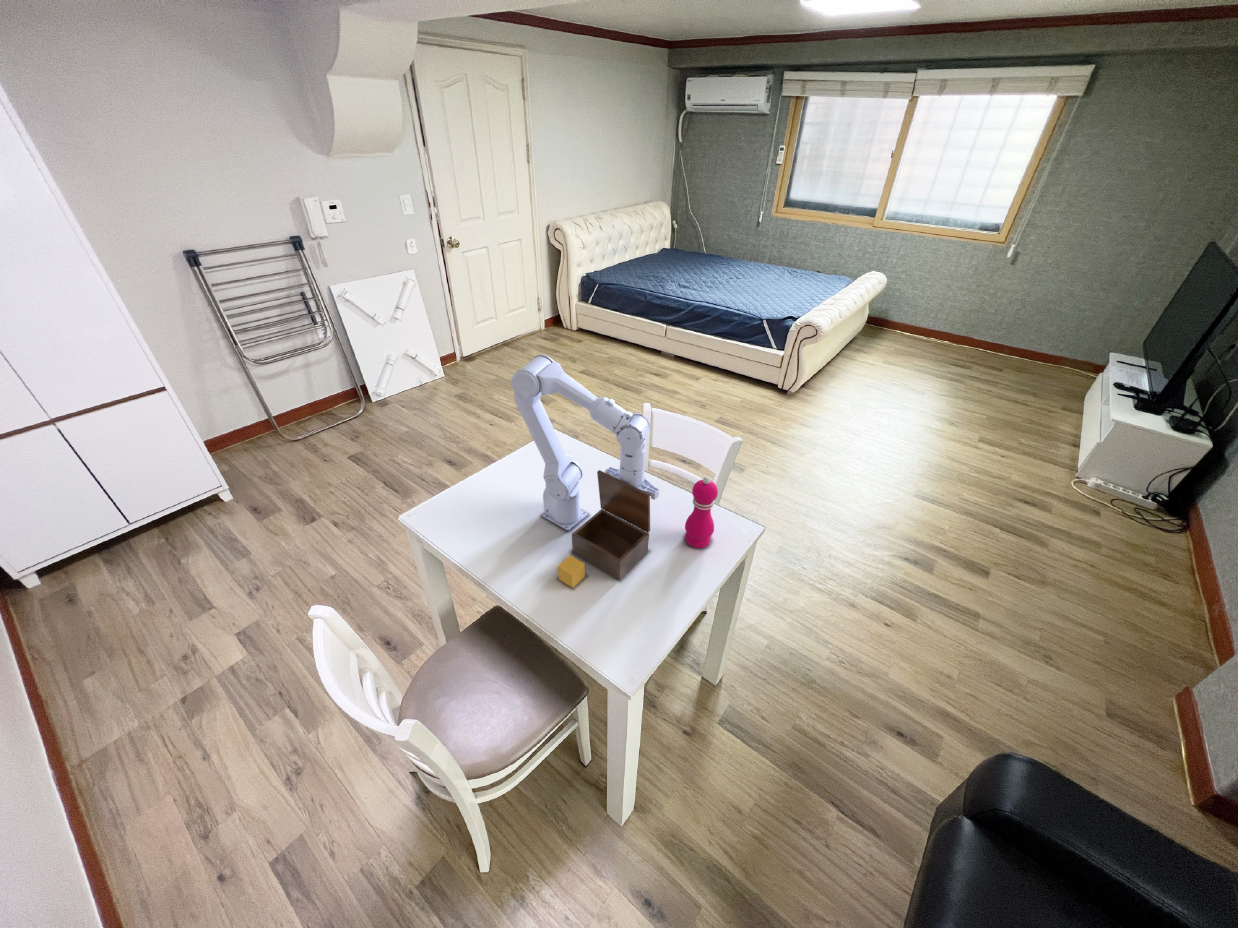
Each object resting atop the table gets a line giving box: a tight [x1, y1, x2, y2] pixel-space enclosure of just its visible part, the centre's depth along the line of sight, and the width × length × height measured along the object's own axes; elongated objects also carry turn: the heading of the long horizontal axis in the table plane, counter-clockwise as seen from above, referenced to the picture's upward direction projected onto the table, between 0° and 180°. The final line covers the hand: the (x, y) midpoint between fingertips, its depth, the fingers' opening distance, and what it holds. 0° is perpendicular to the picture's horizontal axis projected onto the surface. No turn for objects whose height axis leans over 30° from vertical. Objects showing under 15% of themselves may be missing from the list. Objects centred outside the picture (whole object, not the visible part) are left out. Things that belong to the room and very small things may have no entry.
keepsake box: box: [571, 508, 650, 581], centre depth 119 cm, size 12×15×6 cm
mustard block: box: [557, 554, 586, 589], centre depth 112 cm, size 4×4×4 cm
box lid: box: [596, 469, 651, 534], centre depth 116 cm, size 12×15×1 cm
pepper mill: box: [684, 476, 719, 549], centre depth 119 cm, size 7×7×20 cm
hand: (630, 509), depth 121 cm, fingers closed, pressing on box lid
